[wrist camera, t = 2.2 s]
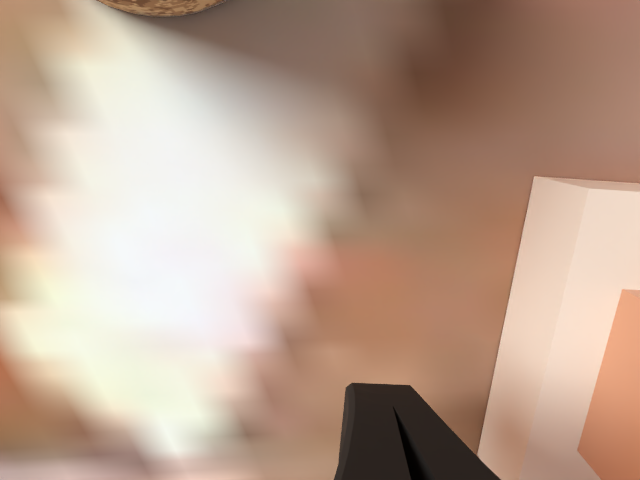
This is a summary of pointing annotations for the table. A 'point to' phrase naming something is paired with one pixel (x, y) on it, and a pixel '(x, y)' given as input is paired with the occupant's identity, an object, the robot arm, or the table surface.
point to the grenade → (162, 6)
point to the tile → (617, 399)
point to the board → (559, 325)
